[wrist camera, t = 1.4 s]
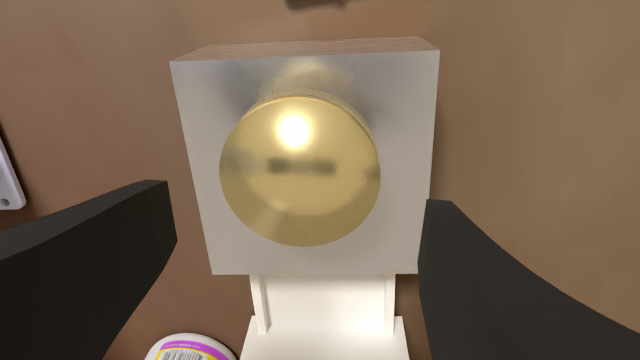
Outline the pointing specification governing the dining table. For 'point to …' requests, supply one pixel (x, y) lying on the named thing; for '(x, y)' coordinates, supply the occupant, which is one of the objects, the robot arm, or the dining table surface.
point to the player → (351, 86)
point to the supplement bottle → (189, 348)
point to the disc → (301, 168)
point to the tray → (324, 318)
